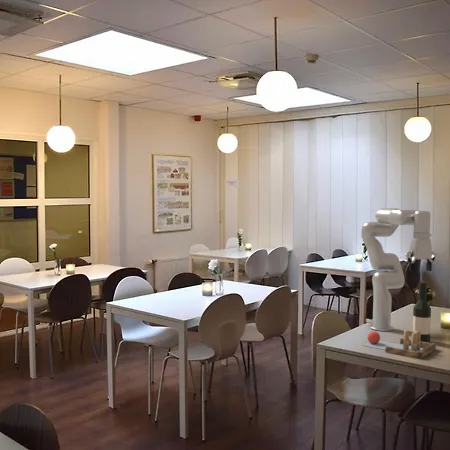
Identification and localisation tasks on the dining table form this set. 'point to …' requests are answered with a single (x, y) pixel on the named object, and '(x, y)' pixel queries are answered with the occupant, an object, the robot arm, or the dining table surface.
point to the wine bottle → (422, 314)
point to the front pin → (406, 340)
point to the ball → (373, 337)
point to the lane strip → (383, 345)
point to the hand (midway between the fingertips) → (420, 270)
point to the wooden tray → (421, 354)
